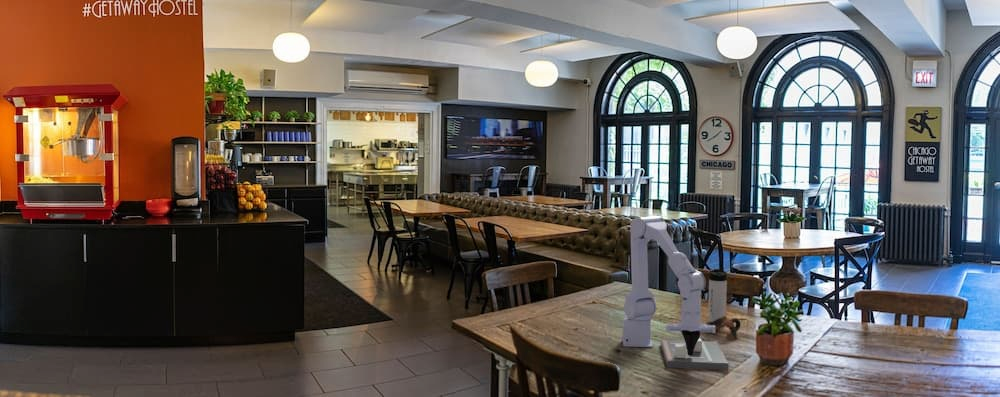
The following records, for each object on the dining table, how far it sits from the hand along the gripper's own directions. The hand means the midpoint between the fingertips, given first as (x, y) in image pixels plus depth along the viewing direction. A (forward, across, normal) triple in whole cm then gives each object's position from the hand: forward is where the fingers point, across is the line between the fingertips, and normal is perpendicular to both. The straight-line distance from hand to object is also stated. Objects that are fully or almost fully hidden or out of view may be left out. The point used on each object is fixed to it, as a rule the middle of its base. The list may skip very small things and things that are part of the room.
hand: (690, 354), depth 217 cm
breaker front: (+1, -3, 0) cm, 3 cm away
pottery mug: (+3, +16, +32) cm, 36 cm away
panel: (+3, +2, +7) cm, 8 cm away
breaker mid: (+1, +3, +7) cm, 8 cm away
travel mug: (+3, +16, +48) cm, 51 cm away
